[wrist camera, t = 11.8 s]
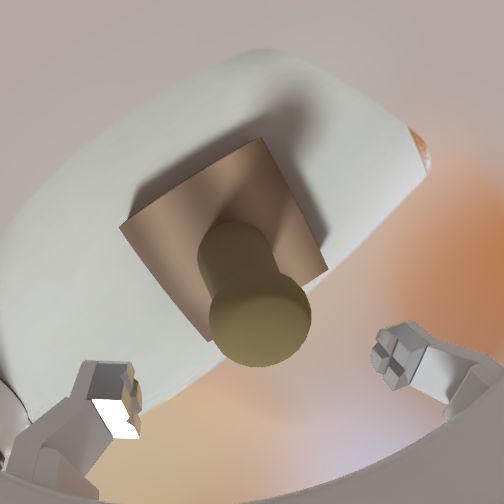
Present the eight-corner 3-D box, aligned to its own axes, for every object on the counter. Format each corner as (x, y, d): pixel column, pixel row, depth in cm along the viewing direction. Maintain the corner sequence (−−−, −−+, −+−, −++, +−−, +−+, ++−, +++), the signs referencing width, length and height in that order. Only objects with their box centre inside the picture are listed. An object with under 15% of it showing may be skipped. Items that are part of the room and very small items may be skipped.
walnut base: (206, 324, 27) (207, 342, 24) (127, 219, 22) (118, 227, 20) (315, 258, 27) (328, 269, 24) (253, 140, 22) (261, 137, 20)
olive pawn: (226, 205, 21) (259, 250, 11) (284, 248, 23) (351, 316, 13) (182, 266, 22) (176, 356, 11) (241, 303, 24) (274, 396, 14)
